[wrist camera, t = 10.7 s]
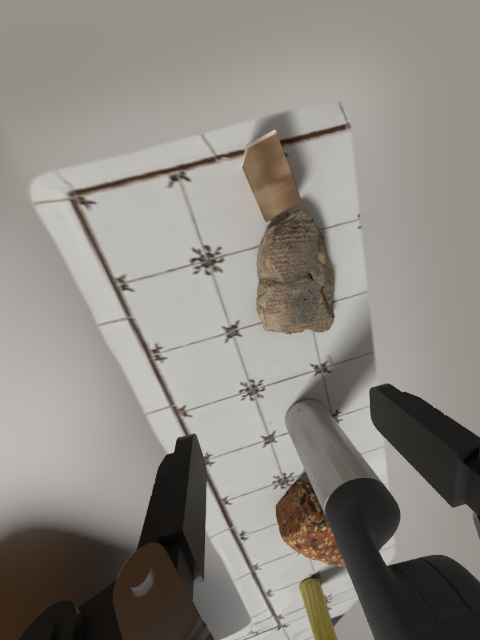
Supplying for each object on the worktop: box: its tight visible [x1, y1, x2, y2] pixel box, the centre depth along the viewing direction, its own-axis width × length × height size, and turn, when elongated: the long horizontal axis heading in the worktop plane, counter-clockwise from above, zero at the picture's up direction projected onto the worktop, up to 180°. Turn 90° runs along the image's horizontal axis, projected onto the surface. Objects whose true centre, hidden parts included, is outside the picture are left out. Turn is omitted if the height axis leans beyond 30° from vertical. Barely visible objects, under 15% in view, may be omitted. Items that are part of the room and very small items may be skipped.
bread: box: [276, 481, 346, 567], centre depth 50 cm, size 19×11×10 cm, turn 56°
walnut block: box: [241, 130, 302, 222], centre depth 32 cm, size 4×6×9 cm
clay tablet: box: [257, 209, 334, 334], centre depth 37 cm, size 14×5×20 cm
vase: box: [299, 578, 338, 640], centre depth 56 cm, size 6×6×14 cm
